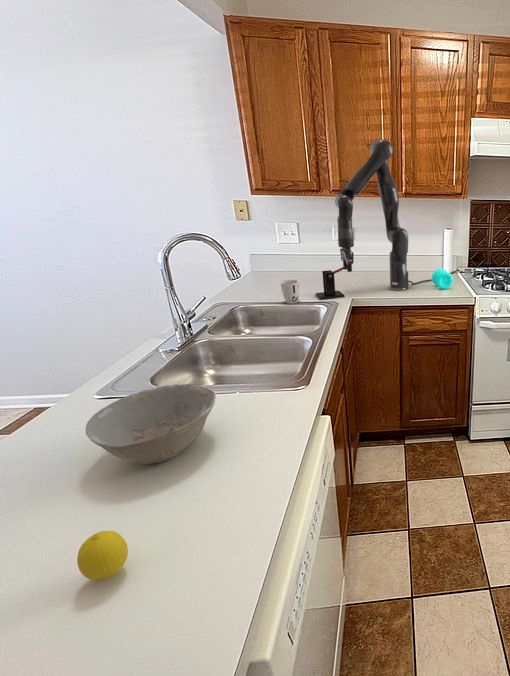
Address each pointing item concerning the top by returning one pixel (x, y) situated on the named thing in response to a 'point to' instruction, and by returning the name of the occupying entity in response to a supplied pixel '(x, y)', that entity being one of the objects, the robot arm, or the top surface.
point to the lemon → (102, 555)
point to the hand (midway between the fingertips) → (347, 270)
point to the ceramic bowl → (152, 422)
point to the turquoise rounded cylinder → (440, 282)
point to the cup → (290, 291)
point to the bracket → (329, 287)
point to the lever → (340, 269)
